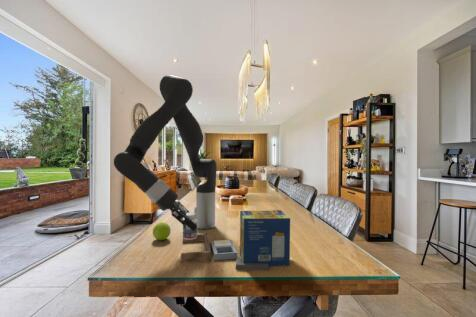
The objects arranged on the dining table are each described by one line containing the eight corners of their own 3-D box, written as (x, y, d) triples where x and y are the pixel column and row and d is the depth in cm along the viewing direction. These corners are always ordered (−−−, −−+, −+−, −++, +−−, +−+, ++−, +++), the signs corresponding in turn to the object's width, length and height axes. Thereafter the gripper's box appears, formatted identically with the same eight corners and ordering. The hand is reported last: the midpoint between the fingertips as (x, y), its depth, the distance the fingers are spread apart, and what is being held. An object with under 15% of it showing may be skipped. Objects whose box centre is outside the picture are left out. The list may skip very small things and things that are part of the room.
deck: (214, 260, 78) (214, 253, 78) (210, 246, 89) (210, 240, 89) (237, 258, 79) (237, 251, 79) (231, 245, 91) (231, 239, 91)
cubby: (180, 262, 76) (181, 254, 76) (182, 241, 95) (182, 234, 95) (210, 260, 78) (211, 252, 78) (206, 239, 97) (206, 233, 97)
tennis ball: (172, 240, 95) (172, 223, 95) (154, 244, 91) (154, 226, 91) (168, 235, 101) (168, 219, 101) (151, 238, 97) (151, 221, 97)
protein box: (239, 253, 83) (239, 210, 83) (281, 252, 85) (281, 210, 84) (242, 267, 73) (242, 218, 73) (290, 266, 74) (291, 217, 74)
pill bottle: (184, 235, 89) (184, 212, 88) (197, 235, 89) (198, 211, 89) (181, 240, 83) (181, 215, 83) (196, 240, 84) (196, 215, 83)
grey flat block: (235, 269, 72) (235, 264, 72) (236, 262, 76) (236, 257, 76) (268, 270, 71) (268, 265, 71) (267, 263, 76) (267, 259, 76)
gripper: (167, 190, 77) (203, 224, 80) (171, 184, 91) (201, 213, 94) (150, 206, 76) (187, 241, 79) (156, 198, 90) (188, 227, 93)
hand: (195, 226), depth 86 cm, fingers closed on pill bottle, 5 cm apart
